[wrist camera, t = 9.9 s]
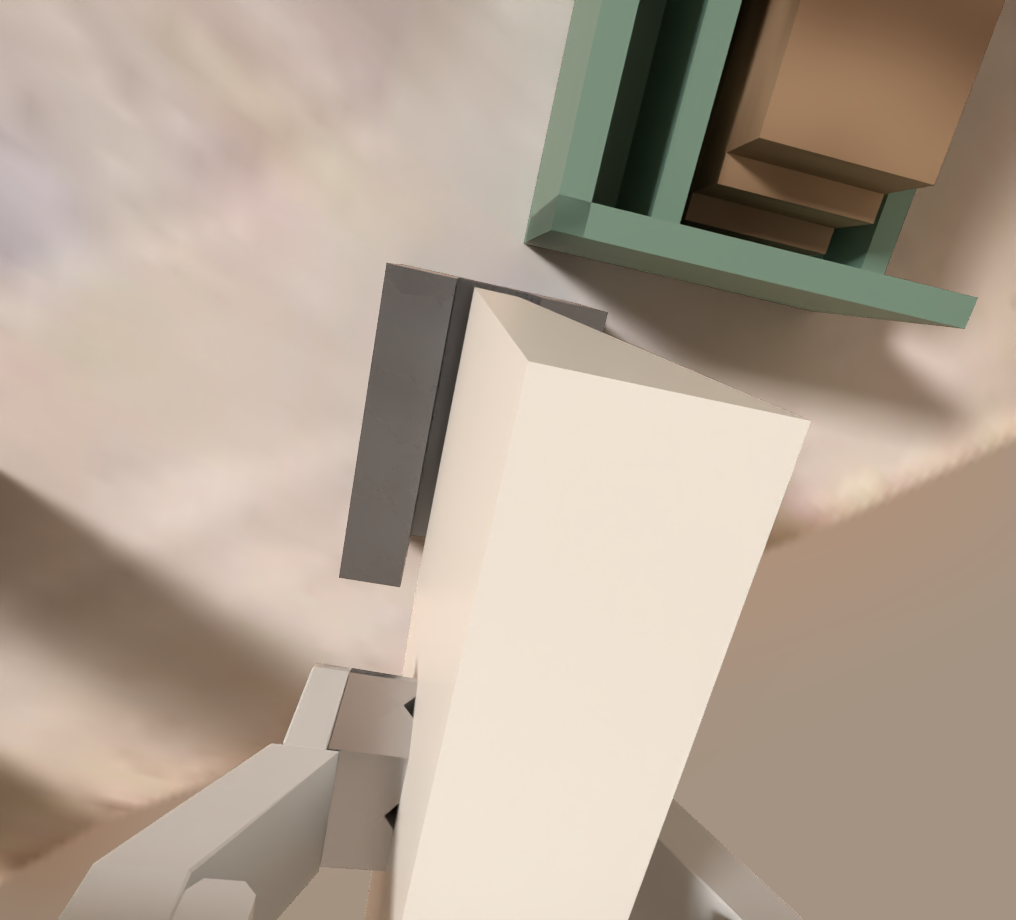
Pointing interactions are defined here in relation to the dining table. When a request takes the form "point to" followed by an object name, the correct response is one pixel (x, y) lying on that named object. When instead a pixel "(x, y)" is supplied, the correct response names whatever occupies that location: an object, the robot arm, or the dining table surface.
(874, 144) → the top offcut
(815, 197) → the middle offcut
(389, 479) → the stand
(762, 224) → the bottom offcut
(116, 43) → the dining table surface
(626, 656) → the cream rectangular slab
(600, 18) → the offcut rack
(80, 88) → the dining table surface
